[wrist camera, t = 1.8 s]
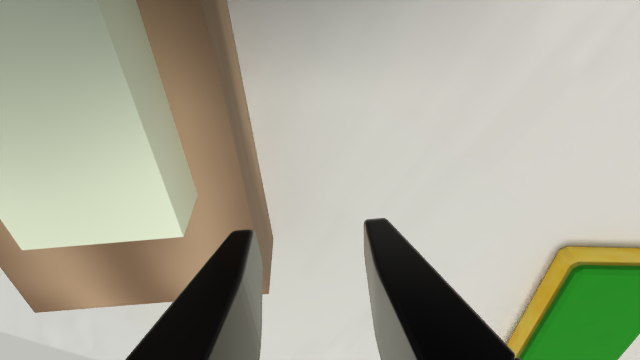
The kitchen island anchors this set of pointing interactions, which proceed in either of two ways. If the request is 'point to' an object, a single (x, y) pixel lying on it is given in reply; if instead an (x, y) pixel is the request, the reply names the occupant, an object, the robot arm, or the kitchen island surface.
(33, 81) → the sage tile
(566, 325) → the dish sponge
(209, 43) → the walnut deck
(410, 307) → the robot arm
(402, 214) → the kitchen island surface
